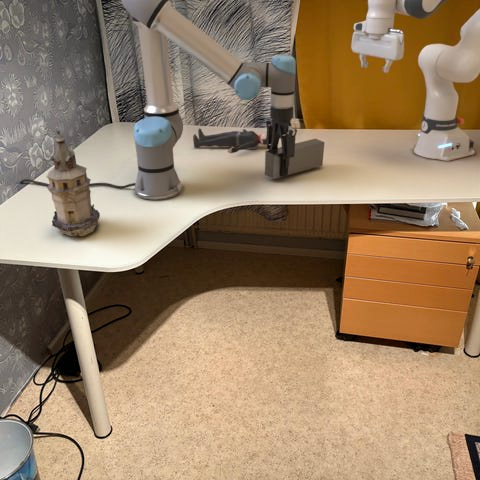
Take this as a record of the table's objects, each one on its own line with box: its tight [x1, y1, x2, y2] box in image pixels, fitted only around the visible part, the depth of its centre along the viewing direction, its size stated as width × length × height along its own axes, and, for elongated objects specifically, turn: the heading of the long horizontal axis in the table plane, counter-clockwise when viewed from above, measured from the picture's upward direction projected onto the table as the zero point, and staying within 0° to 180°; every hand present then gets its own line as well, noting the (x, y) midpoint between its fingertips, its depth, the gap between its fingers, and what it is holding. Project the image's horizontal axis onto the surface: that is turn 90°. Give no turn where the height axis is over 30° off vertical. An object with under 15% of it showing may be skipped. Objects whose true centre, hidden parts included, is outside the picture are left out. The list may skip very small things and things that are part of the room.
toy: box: [192, 128, 267, 155], centre depth 214 cm, size 26×6×30 cm
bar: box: [264, 138, 325, 180], centre depth 187 cm, size 23×5×9 cm, turn 125°
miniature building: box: [46, 129, 101, 237], centre depth 148 cm, size 13×14×30 cm
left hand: (279, 172), depth 185 cm, fingers closed on bar, 5 cm apart
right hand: (374, 69), depth 182 cm, fingers open, 8 cm apart
